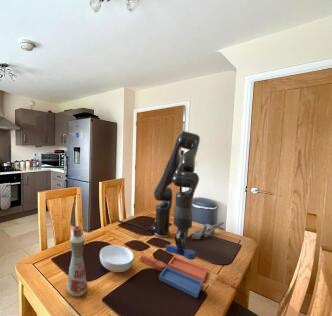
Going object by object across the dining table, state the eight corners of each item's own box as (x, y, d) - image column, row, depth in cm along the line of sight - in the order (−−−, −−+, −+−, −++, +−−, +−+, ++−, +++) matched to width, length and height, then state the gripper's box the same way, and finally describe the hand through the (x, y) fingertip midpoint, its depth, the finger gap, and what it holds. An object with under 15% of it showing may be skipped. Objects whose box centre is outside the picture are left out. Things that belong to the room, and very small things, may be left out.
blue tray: (158, 279, 90) (158, 275, 90) (165, 270, 97) (165, 266, 97) (197, 298, 80) (197, 293, 80) (202, 286, 87) (202, 281, 87)
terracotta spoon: (139, 262, 103) (139, 257, 103) (143, 258, 107) (143, 253, 107) (162, 272, 95) (163, 267, 95) (166, 268, 99) (166, 262, 99)
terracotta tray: (167, 267, 100) (167, 263, 99) (173, 259, 107) (173, 255, 106) (203, 282, 89) (203, 278, 89) (207, 272, 96) (207, 268, 96)
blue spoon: (164, 252, 92) (164, 246, 92) (168, 248, 95) (167, 243, 95) (194, 260, 84) (193, 254, 84) (196, 256, 87) (196, 250, 87)
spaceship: (231, 222, 139) (220, 215, 145) (200, 237, 123) (189, 228, 129) (226, 230, 143) (216, 222, 149) (195, 246, 127) (185, 236, 133)
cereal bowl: (110, 282, 88) (111, 267, 87) (93, 262, 102) (94, 249, 102) (140, 272, 95) (140, 258, 95) (120, 254, 110) (120, 242, 109)
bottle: (78, 279, 89) (80, 220, 87) (91, 291, 82) (93, 227, 80) (62, 288, 83) (63, 225, 81) (74, 301, 77) (76, 233, 74)
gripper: (178, 209, 96) (176, 243, 97) (169, 217, 85) (167, 255, 86) (195, 213, 91) (193, 249, 92) (187, 222, 80) (185, 262, 82)
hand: (180, 252), depth 89 cm, fingers closed on blue spoon, 2 cm apart
